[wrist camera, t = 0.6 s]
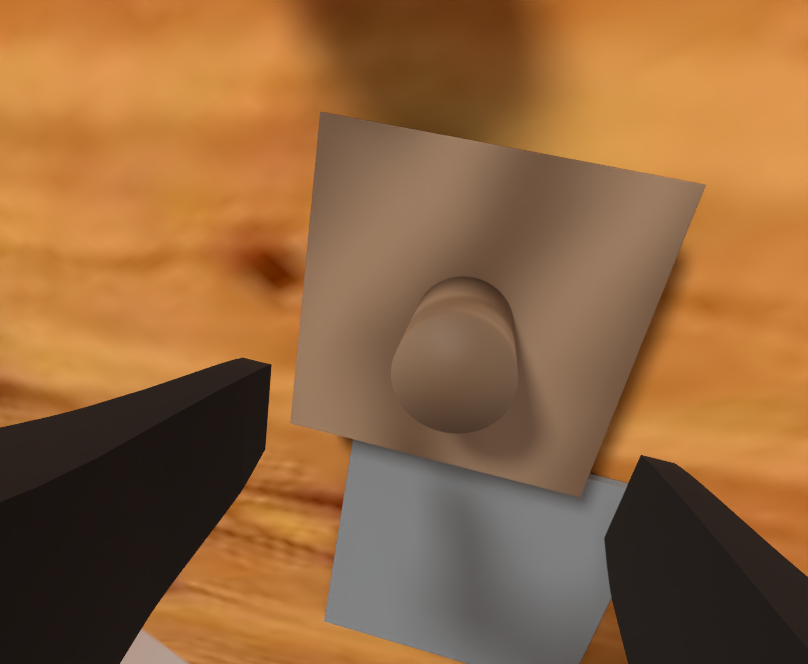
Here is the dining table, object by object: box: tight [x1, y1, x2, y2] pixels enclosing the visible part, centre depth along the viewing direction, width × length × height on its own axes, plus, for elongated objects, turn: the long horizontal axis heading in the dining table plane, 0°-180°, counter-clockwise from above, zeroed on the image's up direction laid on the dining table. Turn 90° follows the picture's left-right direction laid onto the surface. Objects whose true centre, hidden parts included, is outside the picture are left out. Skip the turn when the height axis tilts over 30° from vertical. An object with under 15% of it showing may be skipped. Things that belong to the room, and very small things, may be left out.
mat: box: [324, 439, 628, 664], centre depth 23 cm, size 13×13×1 cm
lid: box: [291, 112, 706, 497], centre depth 14 cm, size 11×11×5 cm
